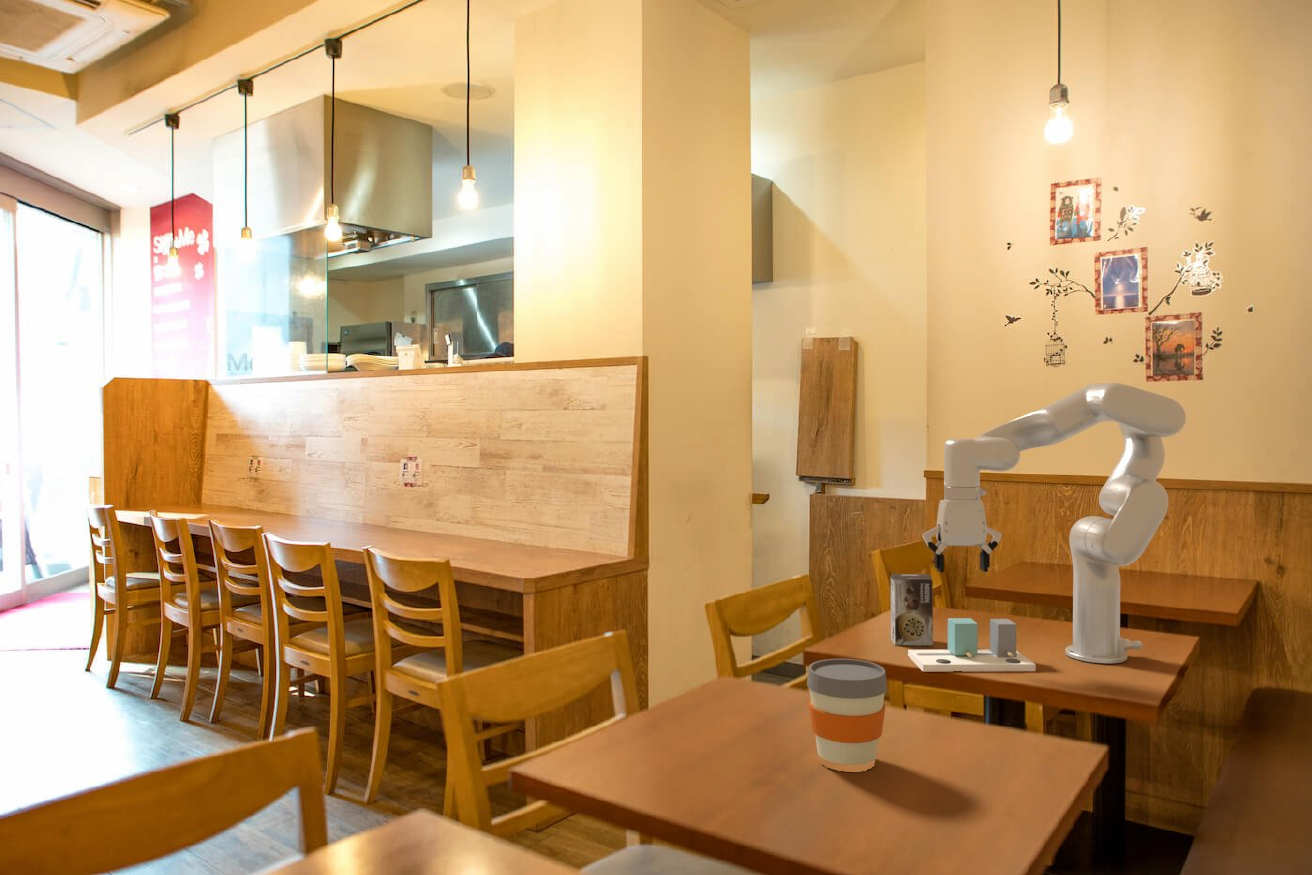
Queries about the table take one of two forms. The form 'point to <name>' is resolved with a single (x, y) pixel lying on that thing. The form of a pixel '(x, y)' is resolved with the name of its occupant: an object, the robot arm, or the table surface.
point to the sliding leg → (962, 636)
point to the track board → (979, 654)
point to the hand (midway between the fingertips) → (962, 571)
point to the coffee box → (912, 609)
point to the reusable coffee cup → (847, 709)
